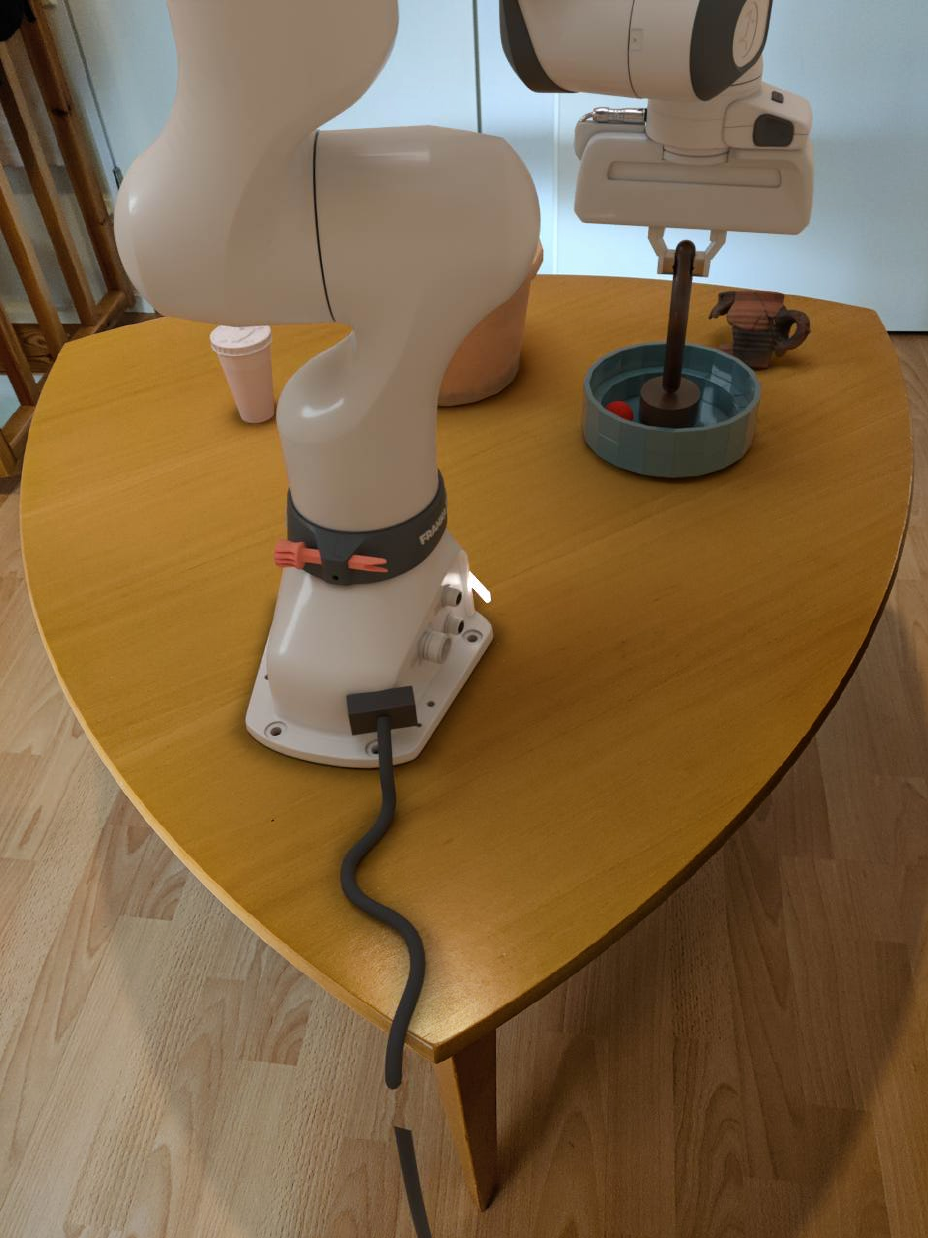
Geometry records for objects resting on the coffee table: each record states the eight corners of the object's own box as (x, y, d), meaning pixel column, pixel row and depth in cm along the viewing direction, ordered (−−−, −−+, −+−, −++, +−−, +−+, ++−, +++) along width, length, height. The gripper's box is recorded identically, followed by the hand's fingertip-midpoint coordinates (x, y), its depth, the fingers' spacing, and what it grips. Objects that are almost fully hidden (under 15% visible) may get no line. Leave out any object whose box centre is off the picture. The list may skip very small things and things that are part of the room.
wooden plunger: (687, 439, 100) (710, 261, 86) (630, 427, 102) (643, 250, 88) (704, 406, 103) (728, 230, 90) (648, 395, 105) (664, 221, 92)
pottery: (580, 376, 112) (585, 251, 102) (415, 443, 104) (404, 314, 94) (471, 307, 126) (466, 191, 116) (317, 362, 117) (298, 241, 107)
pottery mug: (690, 365, 114) (696, 289, 112) (725, 368, 121) (732, 297, 119) (792, 367, 106) (801, 286, 105) (824, 370, 114) (833, 295, 112)
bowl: (746, 493, 95) (756, 440, 91) (568, 473, 99) (570, 421, 95) (755, 399, 107) (764, 348, 103) (596, 384, 111) (598, 335, 107)
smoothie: (292, 398, 111) (270, 278, 102) (279, 430, 107) (254, 307, 97) (236, 398, 112) (209, 278, 102) (221, 429, 107) (191, 307, 98)
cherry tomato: (626, 439, 103) (631, 433, 100) (596, 431, 103) (600, 425, 100) (633, 409, 103) (639, 402, 100) (604, 401, 103) (608, 394, 100)
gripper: (568, 118, 81) (564, 280, 91) (830, 127, 77) (797, 296, 87) (581, 94, 86) (576, 251, 95) (829, 101, 82) (798, 265, 91)
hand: (683, 273), depth 91 cm, fingers closed on wooden plunger
